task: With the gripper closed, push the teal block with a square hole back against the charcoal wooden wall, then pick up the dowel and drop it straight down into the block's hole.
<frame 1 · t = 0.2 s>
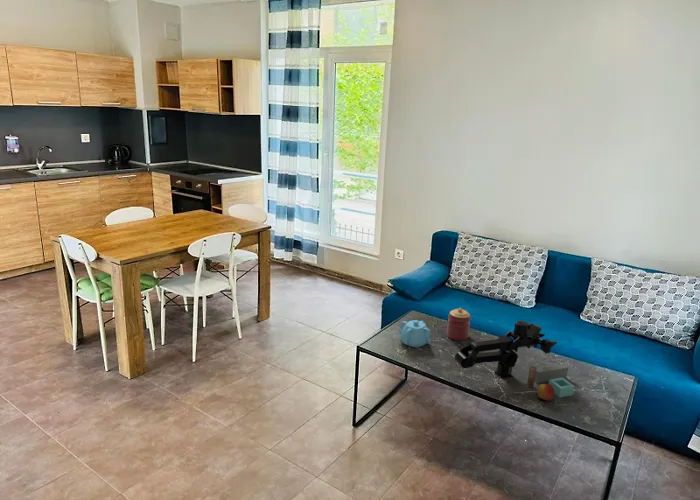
hand: (550, 338, 252), 17 cm above the table, tool horizontal, fingers open, 9 cm apart
dowel: (530, 386, 239), on the table
apple: (544, 399, 228), on the table
decorative pot: (414, 343, 279), on the table
canister: (457, 336, 290), on the table
holed block: (560, 392, 235), on the table
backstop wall: (549, 379, 246), on the table
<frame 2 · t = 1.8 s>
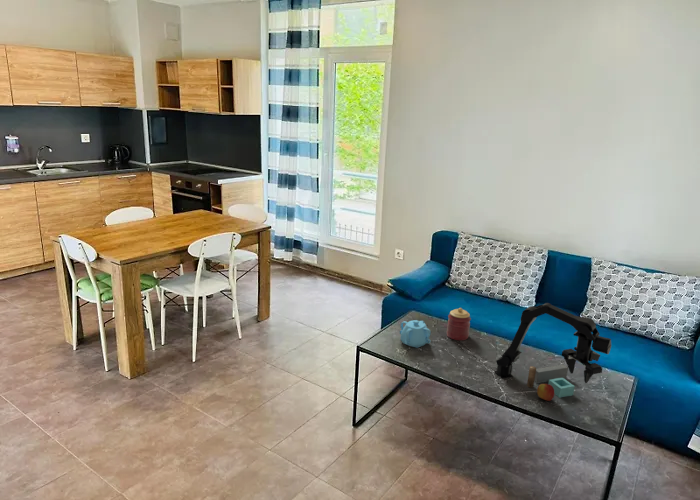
hand: (578, 378, 224), 12 cm above the table, tool pointing down, fingers open, 8 cm apart
nothing on the table moved.
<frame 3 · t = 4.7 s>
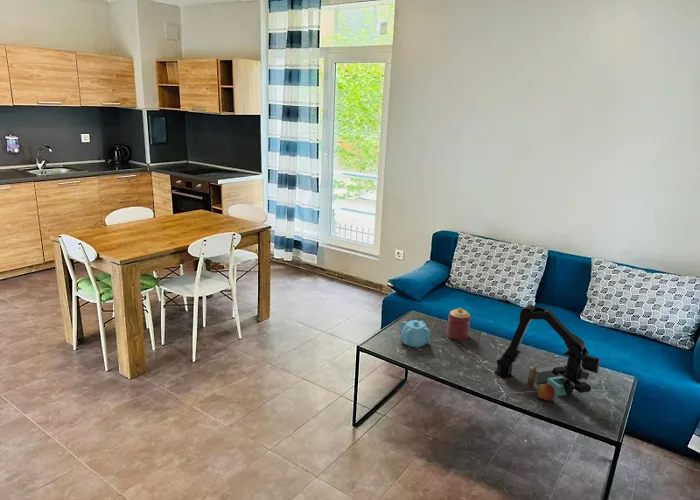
hand: (568, 395, 230), 1 cm above the table, tool pointing down, fingers closed
holed block: (558, 390, 236), on the table, touching gripper
everything else where it was.
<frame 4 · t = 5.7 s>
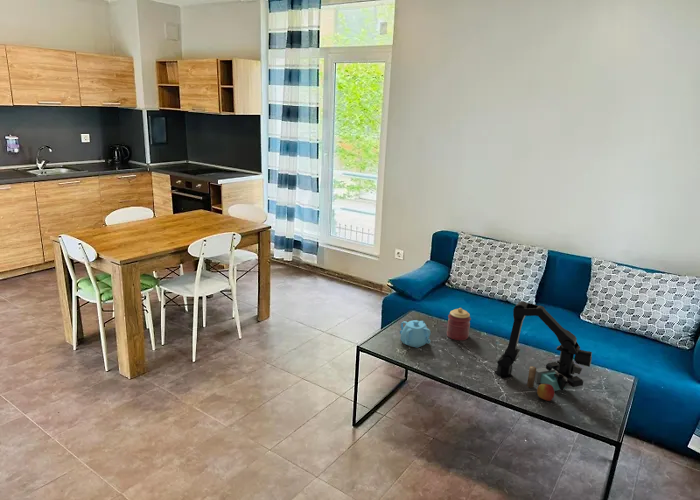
hand: (561, 390, 234), 1 cm above the table, tool pointing down, fingers closed
holed block: (552, 385, 240), on the table, touching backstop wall, gripper
everything else where it was.
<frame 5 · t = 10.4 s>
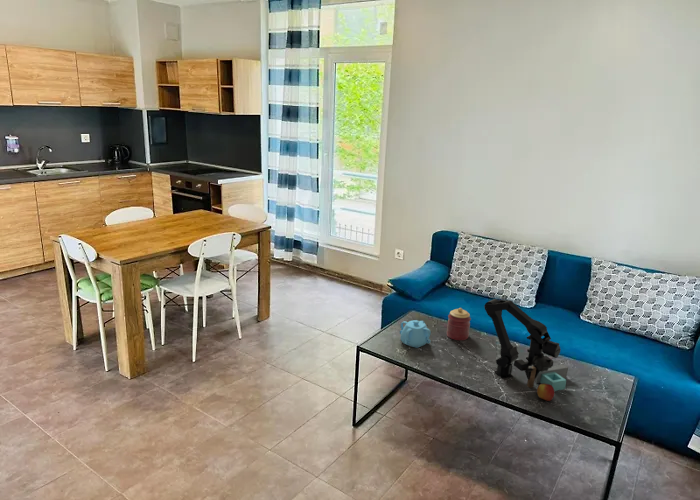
hand: (531, 378, 238), 4 cm above the table, tool pointing down, fingers closed on dowel, 3 cm apart
dowel: (530, 386, 239), on the table, touching gripper
holed block: (552, 386, 240), on the table
everything else where it was.
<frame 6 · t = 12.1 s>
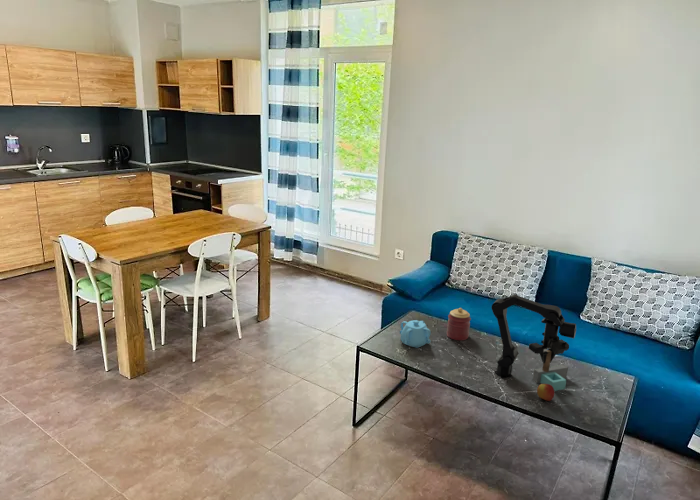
hand: (546, 362, 236), 13 cm above the table, tool pointing down, fingers closed on dowel, 3 cm apart
dowel: (545, 370, 237), point 9 cm above the table, touching gripper
everything else where it was.
when the fingers open (6 cm above the table, at t = 14.2 s): dowel drops 1 cm, resting on holed block.
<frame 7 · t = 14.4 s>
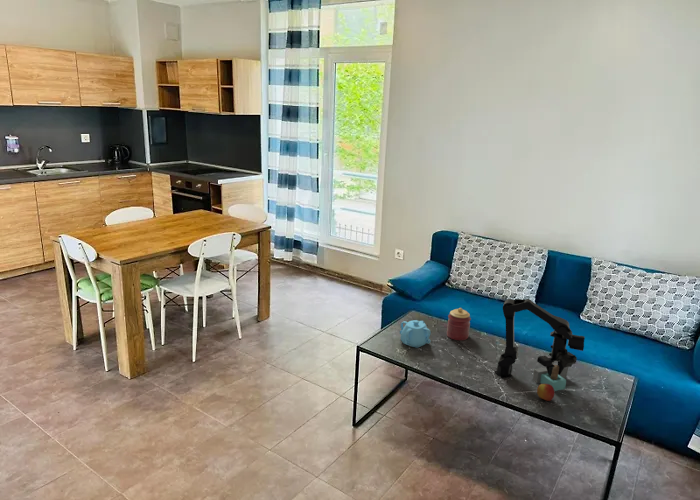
hand: (554, 374, 238), 6 cm above the table, tool pointing down, fingers open, 5 cm apart
dowel: (552, 384, 240), point 1 cm above the table, touching holed block
holed block: (552, 386, 240), on the table, touching dowel
everything else where it was.
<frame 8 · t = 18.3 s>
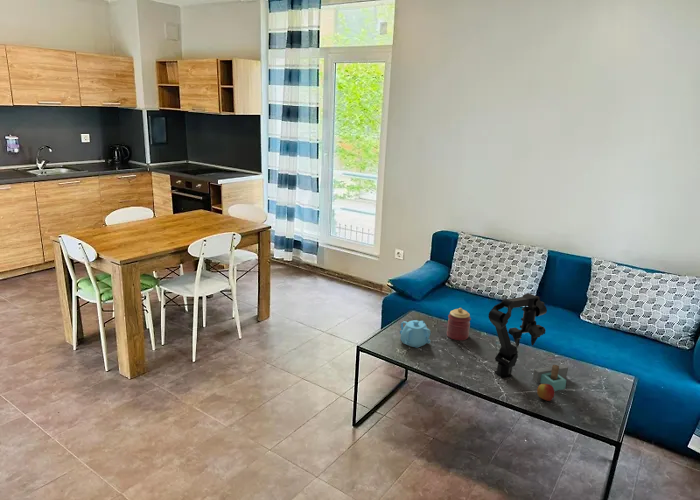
hand: (524, 346, 254), 12 cm above the table, tool pointing down, fingers open, 9 cm apart
nothing on the table moved.
at the end: dowel 0.2 cm off-centre on the holed block, point 1.0 cm above the holed block's base; dowel tilted 0°; holed block 0.4 cm from the target spot, on the table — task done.
